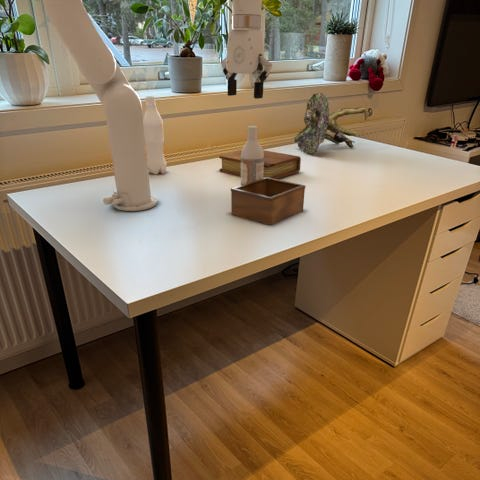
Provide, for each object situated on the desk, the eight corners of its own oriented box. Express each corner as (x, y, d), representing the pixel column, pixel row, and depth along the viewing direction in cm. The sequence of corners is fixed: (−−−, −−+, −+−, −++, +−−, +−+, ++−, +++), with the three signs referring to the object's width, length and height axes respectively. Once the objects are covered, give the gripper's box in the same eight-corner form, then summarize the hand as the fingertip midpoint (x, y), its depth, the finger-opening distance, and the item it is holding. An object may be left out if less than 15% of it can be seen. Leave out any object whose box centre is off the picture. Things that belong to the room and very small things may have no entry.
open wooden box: (270, 225, 118) (271, 198, 114) (230, 214, 126) (230, 188, 122) (303, 210, 128) (305, 185, 124) (265, 201, 136) (266, 176, 132)
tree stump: (341, 138, 174) (386, 121, 194) (303, 85, 176) (351, 73, 196) (306, 175, 193) (351, 156, 213) (272, 127, 194) (320, 112, 215)
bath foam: (236, 193, 142) (236, 125, 132) (255, 190, 145) (257, 123, 135) (247, 199, 137) (247, 129, 127) (266, 196, 140) (269, 127, 129)
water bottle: (169, 170, 168) (163, 95, 154) (164, 175, 162) (157, 98, 148) (150, 169, 168) (142, 95, 155) (145, 174, 162) (136, 98, 149)
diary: (300, 172, 165) (301, 156, 162) (267, 182, 153) (267, 165, 150) (253, 162, 178) (253, 147, 175) (219, 171, 166) (219, 155, 163)
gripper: (212, 23, 120) (213, 95, 129) (263, 23, 110) (260, 100, 119) (231, 24, 125) (230, 93, 134) (281, 24, 115) (277, 98, 124)
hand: (244, 96), depth 126 cm, fingers open, 9 cm apart
